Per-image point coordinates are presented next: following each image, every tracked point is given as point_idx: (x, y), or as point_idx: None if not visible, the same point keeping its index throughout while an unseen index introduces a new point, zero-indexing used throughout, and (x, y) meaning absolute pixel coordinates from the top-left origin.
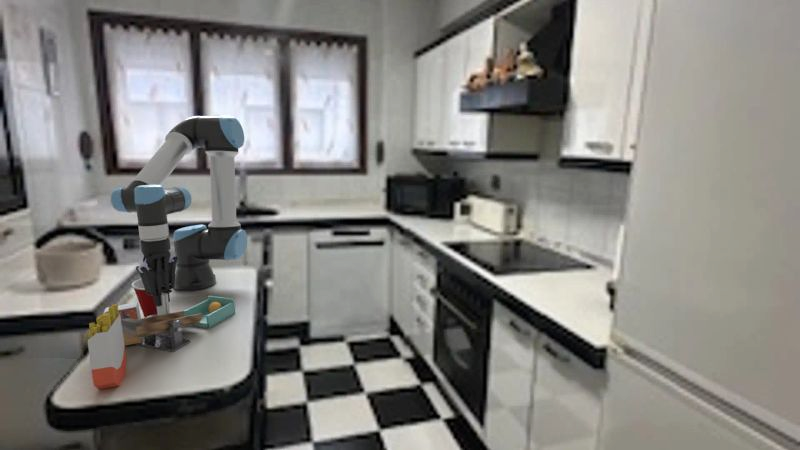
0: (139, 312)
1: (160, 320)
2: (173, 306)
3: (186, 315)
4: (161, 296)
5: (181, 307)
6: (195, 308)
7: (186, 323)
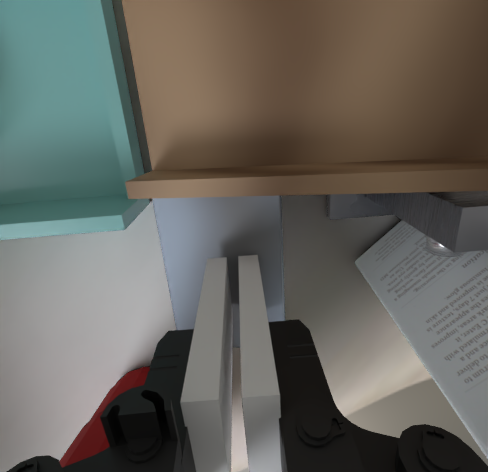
0: (464, 350)
1: (393, 163)
2: (32, 421)
3: (105, 206)
4: (277, 395)
5: (13, 384)
6: (2, 219)
7: None
